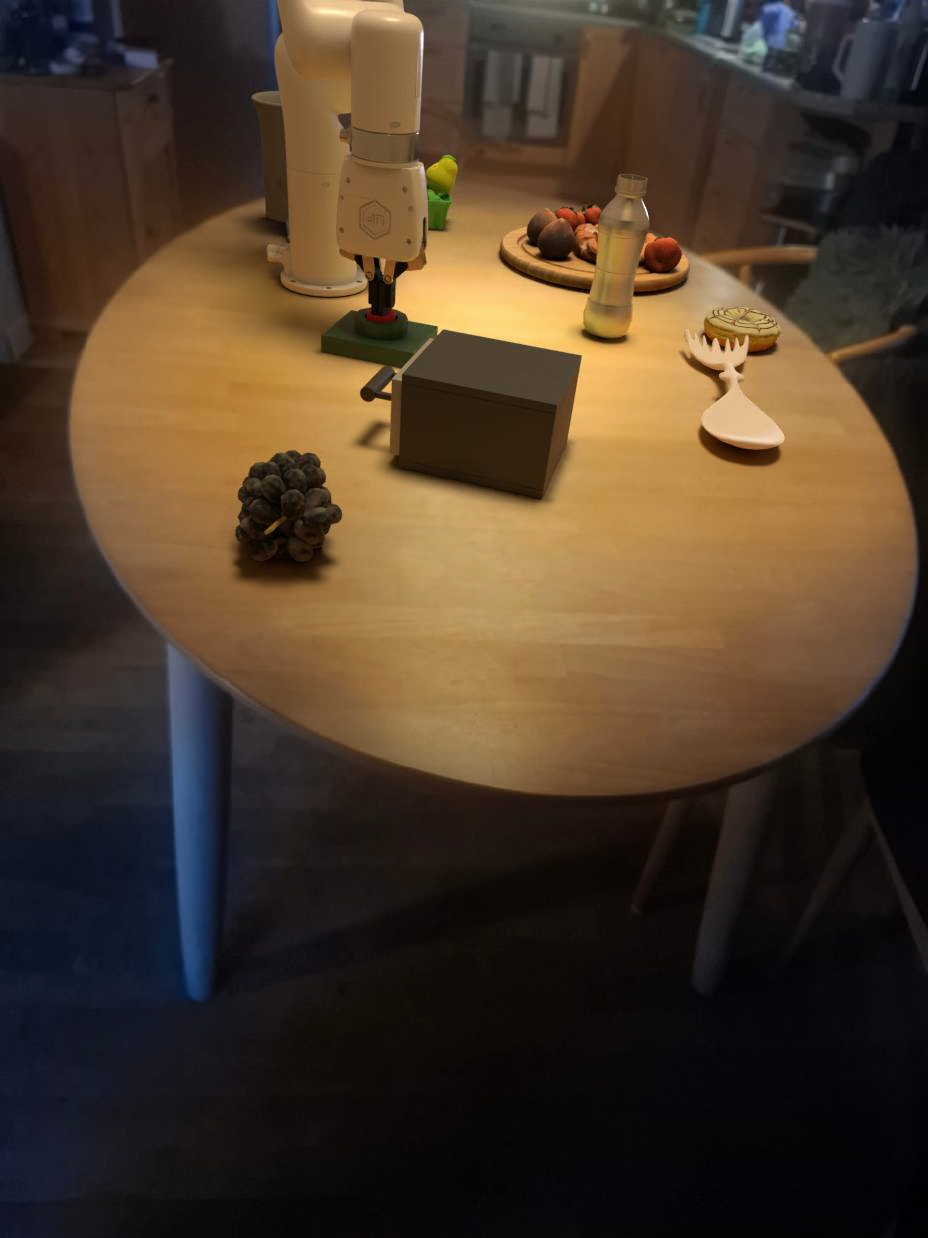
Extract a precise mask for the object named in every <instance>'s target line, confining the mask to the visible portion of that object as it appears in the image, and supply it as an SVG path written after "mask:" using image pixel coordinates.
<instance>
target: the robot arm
mask: <svg viewBox="0 0 928 1238" xmlns="http://www.w3.org/2000/svg"><path fill="white" fill-rule="evenodd" d="M276 3H277V10H278V15H279V21H280V25H281V30H282V32H281V33H280V34H279V36H278V37H277V40H276V43H275V46H274V53H273V54H274V56H273V57H274V59H273V60H274V68H275V70H274V71H275V77H276V81H277V87H278V91H279V93H280V99H281V104H282V111H283V119H284V129H285V144H286V164H287V187H288V210H289V234H290V242H289V245H287V247H286V246H282V245H279V244H274V243H269V244H268V245H267V247H266V258H267V261H268V262H270V263H276V264H277V263H278V264H281V265H282V266H283V270H281V272H280V283H281V285H282V286H284V287H285V288H286V289H288V290H290V291H292V292H295V293H298V294H302V295H307V296H313V297H325V298H326V297H330V298H331V297H334V298H335V297H345V296H351V295H355V294H358V293H360V292H362V291H363V290H365V289H366V288H367V289H368V290H367V294H368V295H367V303H368V305H370V307H371V314H374V315H376V314H379V315H380V316H385V315H386V314H387V313H388V312H389V311H390V310H391V309H394V307H395V305H396V294H397V293H396V291H397V279H398V278H399V277H401V275H402V274H403V273H405V272H413V271H414V272H415V271H421V270H423V269H424V268H426V267H427V263H428V262H427V257H426V252H425V251H426V249H427V246H428V237H429V229H428V200H427V188H426V182H427V178H426V175H425V173H426V170H425V166H424V165H425V164H424V163H423V162H421V161H419V157H420V155H419V154H420V134H421V131H420V130H421V112H422V111H421V108H422V87H423V85H422V84H423V64H424V46H425V45H424V43H425V31H424V26H423V23H422V21H421V20H420V19H419V18H418V17H417V16H416V15H414V14H412V13H409V12H405V8H404V0H276ZM343 114H350V124H349V126H348V127H347V128H344V126H343V125H342V123H341V122H340V120H339V116H340V115H343ZM382 259H383V260H385V262H384V263H385V264H384V268H383V267H382ZM358 267H359V268H360V269H358ZM382 268H383V269H382Z"/></svg>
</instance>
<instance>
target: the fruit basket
mask: <svg viewBox="0 0 928 1238" xmlns="http://www.w3.org/2000/svg"><path fill="white" fill-rule="evenodd" d="M456 161H457V159H456V158H455V157H453V156H452V155H451V154H445V155H443V156H442V157H440V160H439V161H438V162H436V163H434V164H432V165H431V166H429V167H428V168H427V169H426V170H425V178H426V188H427V200H428V230H443V229H444V226H445V223H446V218H447V215H448V212H449V209H450V207H451V204H452V201H453V200H452V198H451V195H450V193H452V191H453V190H454V188H455V185H456V178H457V174H458V171H459V170H458V169H459V168H458V164H457V163H456Z"/></svg>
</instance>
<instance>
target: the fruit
mask: <svg viewBox="0 0 928 1238" xmlns="http://www.w3.org/2000/svg"><path fill="white" fill-rule="evenodd" d="M321 463H322V462H321V460H320V457H319V456H318V455H317V454H316V453H313V452H305V453H303V454H301V453H300V452H299V451H297V450H295V449H293V450H292V449H290V450H287V451H286V452H277V453H275V454H274V455H273V456H272V457H271V458H270V459H269V460H268V461H266V462H264V461H259V462H255V463H254V464H253V465H251V466H250V467H249V470H248V473H247V476H246V477H245V478H244V479H243V480H242V484H241V485H242V486H240V487H239V488H238V491H237V499H238V501H239V502H241V504H242V505H241V509H240V511H239V513H238V515H237V518H238V522H239V524H238V525H236V527H235V534H234V536H235V538H236V540H237V542H238V543H240V544H242V545H244V546H247V545H248V549H247V550H248V554H249V556H250V557H251V558H252V559H253V560H254V561H258V562H264V561H266V560H269V559H271V558H272V557H273V556H274V557H276V558H278V559H281V560H283V561H286V560H288V559H290V558H293V560H295V561H296V562H301V563H303V562H308V561H309V560H311V558H312V557H314V556H313V555H314V549H319V548H321V547H322V546H324V542H325V539H326V535H328V534H329V532H330V530H331V527H332V525H335V524H338V523H340V522H341V521H342V519H343V510H342V508H341V507H340V506H339V505H338V504H335V503H333V502H332V493H331V492H330V490H329V488H328V487H327V486H324V484H325V483H326V482H327V474H326V472H325V470H324V469H323V468H322V467H321V466H322V464H321Z"/></svg>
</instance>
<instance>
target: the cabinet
mask: <svg viewBox="0 0 928 1238" xmlns="http://www.w3.org/2000/svg"><path fill="white" fill-rule="evenodd" d="M582 357H583V355H582V354H577V353H572V352H566V351H562V350H561V351H560V350H556V349H549V348H545V347H539V346H534V345H528V344H524V343H519V342H513V341H507V340H502V339H497V338H492V337H486V336H481V335H476V334H470V333H465V332H459V331H454V330H449V329H441V330H440V332H439V333H438V334H437V337H436V338H435V339H434V340H433V341H432V342H431V343H430V344H429V345H428V346H427V347H426V348H425V350H424V351H423V352H422V353H421V354H420V355H419V356H418V357H417V358H416V359H415V360H414V362H413V363H412V364H411V365H410V366H409V367H408V368H407V369H406V370H405V371H404V372H403V374H402V389H401V415H400V441H399V456H398V465H397V466H398V468H400V469H404V470H409V471H414V472H419V473H423V474H427V475H432V476H435V477H436V476H437V477H442V478H445V479H451V480H455V481H458V482H464V483H469V484H473V485H477V486H483V487H486V488H492V489H496V490H500V491H504V492H505V491H506V492H510V493H515V494H519V495H522V496H527V497H531V498H537V499H541V500H542V499H543V498H544V495H545V493H546V491H547V488H548V487H549V484H550V482H551V480H552V478H553V475H554V473H555V472H556V471H555V470H556V468H557V466H558V464H559V461H560V460H561V458H562V455H563V453H564V451H565V449H566V446H567V443H568V439H569V433H570V428H571V422H572V416H573V411H574V403H575V398H576V393H577V386H578V381H579V374H580V369H581V364H582Z"/></svg>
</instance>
